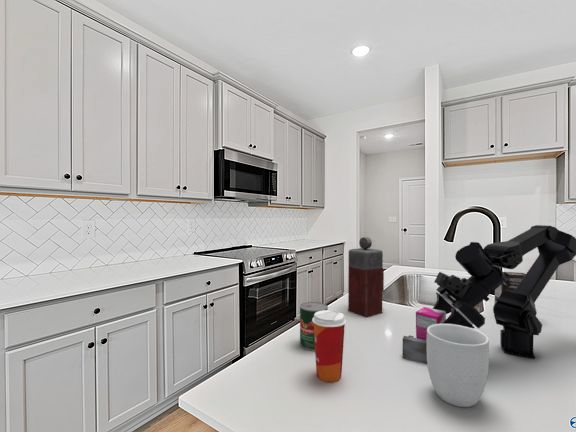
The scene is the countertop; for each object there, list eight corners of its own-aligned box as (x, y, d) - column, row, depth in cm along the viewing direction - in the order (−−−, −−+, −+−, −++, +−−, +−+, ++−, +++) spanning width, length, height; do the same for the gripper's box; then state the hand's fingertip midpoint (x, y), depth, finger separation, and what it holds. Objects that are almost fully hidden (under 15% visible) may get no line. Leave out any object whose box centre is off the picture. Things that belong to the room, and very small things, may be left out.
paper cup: (323, 363, 75) (323, 307, 74) (352, 374, 70) (352, 314, 70) (305, 377, 69) (305, 315, 68) (334, 389, 64) (334, 323, 64)
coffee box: (501, 321, 104) (502, 274, 103) (493, 315, 110) (494, 270, 110) (532, 323, 102) (533, 275, 101) (522, 317, 108) (523, 272, 108)
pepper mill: (386, 311, 113) (387, 237, 113) (366, 317, 107) (366, 238, 107) (368, 305, 121) (368, 235, 120) (347, 310, 115) (348, 236, 114)
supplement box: (424, 347, 84) (424, 306, 84) (447, 354, 79) (447, 311, 79) (415, 354, 80) (415, 310, 80) (438, 362, 76) (438, 316, 75)
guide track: (456, 354, 80) (457, 335, 80) (455, 370, 72) (456, 349, 72) (408, 343, 86) (408, 326, 86) (402, 357, 78) (402, 338, 78)
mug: (441, 369, 72) (441, 315, 72) (496, 388, 64) (497, 327, 64) (418, 398, 61) (418, 333, 61) (481, 424, 53) (482, 351, 53)
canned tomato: (329, 340, 88) (329, 302, 88) (325, 352, 81) (325, 311, 80) (303, 337, 90) (303, 300, 90) (296, 349, 83) (296, 308, 83)
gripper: (444, 257, 87) (403, 293, 90) (470, 269, 69) (418, 314, 71) (474, 285, 86) (432, 321, 88) (508, 305, 68) (454, 350, 70)
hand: (433, 325), depth 80 cm, fingers open, 9 cm apart
